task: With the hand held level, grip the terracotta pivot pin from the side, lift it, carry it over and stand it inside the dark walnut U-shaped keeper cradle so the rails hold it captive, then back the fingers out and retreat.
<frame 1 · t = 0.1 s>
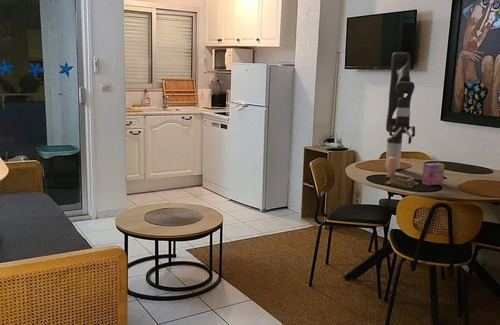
hand: (401, 143, 291), 22 cm above the table, tool pointing down, fingers open, 8 cm apart
keeper cradle: (401, 183, 287), on the table
box: (432, 184, 289), on the table
pivot pin: (390, 177, 304), on the table
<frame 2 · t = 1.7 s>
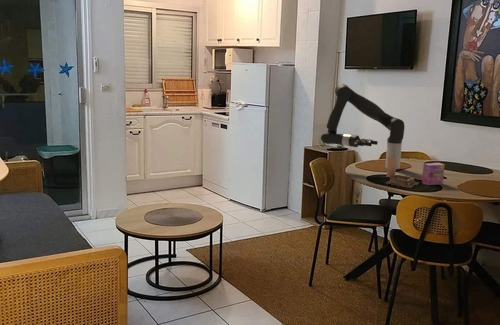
hand: (374, 143, 307), 19 cm above the table, tool horizontal, fingers open, 8 cm apart
nothing on the table moved.
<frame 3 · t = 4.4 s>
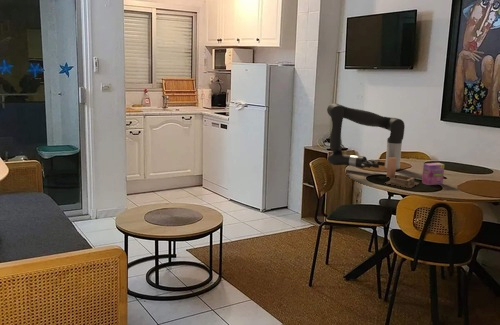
hand: (381, 165, 306), 7 cm above the table, tool horizontal, fingers open, 8 cm apart
nothing on the table moved.
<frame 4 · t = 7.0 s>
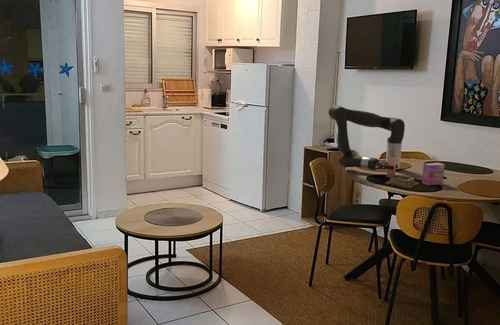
hand: (395, 167, 301), 7 cm above the table, tool horizontal, fingers closed on pivot pin, 5 cm apart
pivot pin: (390, 177, 304), on the table, touching gripper
everything else where it was.
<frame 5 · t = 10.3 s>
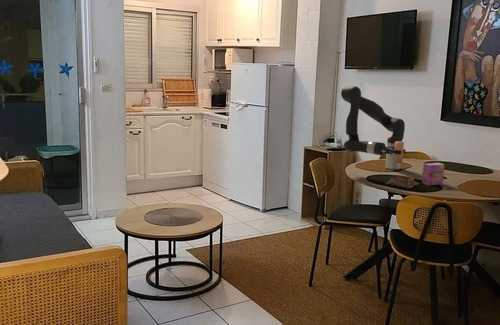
hand: (403, 152, 288), 18 cm above the table, tool horizontal, fingers closed on pivot pin, 5 cm apart
pivot pin: (397, 162, 291), point 11 cm above the table, touching gripper
everything else where it was.
when the fingers open (8 cm above the table, at t = 13.6 s): pivot pin drops 1 cm, resting on keeper cradle.
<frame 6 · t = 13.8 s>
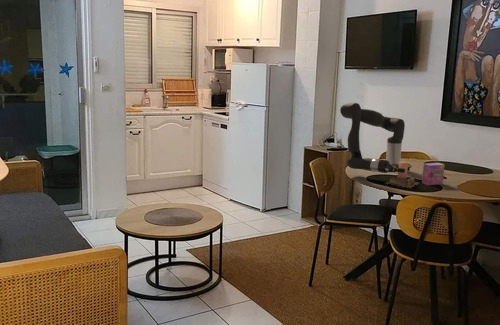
hand: (407, 169, 284), 9 cm above the table, tool horizontal, fingers open, 6 cm apart
pivot pin: (401, 182, 287), point 1 cm above the table, touching keeper cradle
everything else where it was.
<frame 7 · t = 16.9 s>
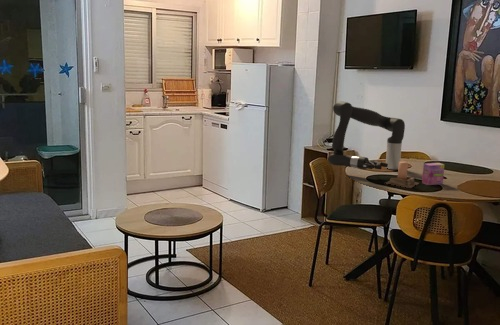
hand: (384, 166, 292), 9 cm above the table, tool horizontal, fingers open, 8 cm apart
nothing on the table moved.
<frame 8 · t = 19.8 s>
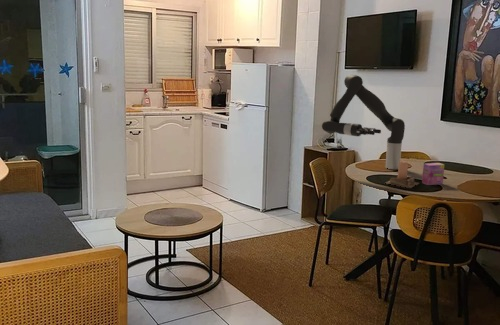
hand: (377, 132, 294), 28 cm above the table, tool horizontal, fingers open, 8 cm apart
nothing on the table moved.
at the end: pivot pin 0.1 cm off-centre on the keeper cradle, point 0.6 cm above the keeper cradle's base; pivot pin tilted 1°; the gripper is holding nothing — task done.
